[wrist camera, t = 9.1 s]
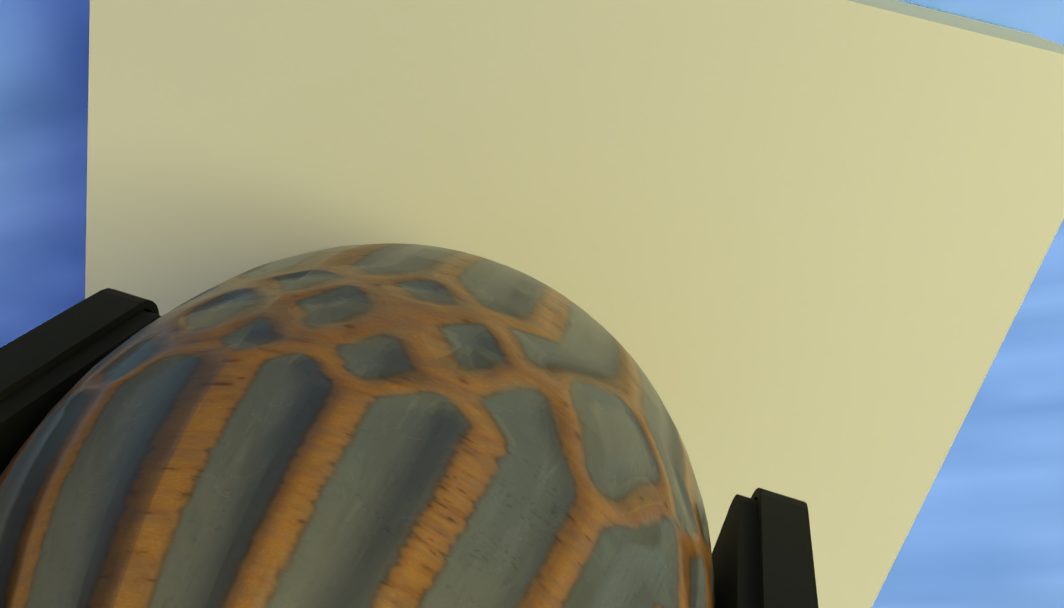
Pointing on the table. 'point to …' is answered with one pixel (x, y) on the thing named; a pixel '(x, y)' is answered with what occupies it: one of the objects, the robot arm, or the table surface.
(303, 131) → the plinth
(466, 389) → the vase
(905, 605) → the table surface
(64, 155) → the table surface
